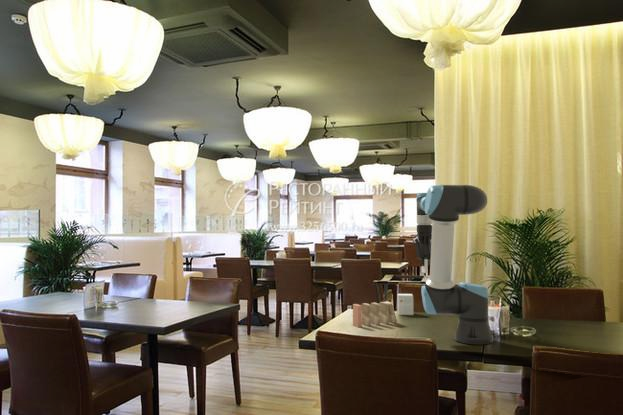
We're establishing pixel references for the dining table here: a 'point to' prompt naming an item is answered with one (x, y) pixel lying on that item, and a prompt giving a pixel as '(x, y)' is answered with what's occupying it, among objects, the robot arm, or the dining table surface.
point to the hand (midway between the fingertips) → (424, 272)
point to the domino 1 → (357, 315)
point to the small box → (405, 304)
